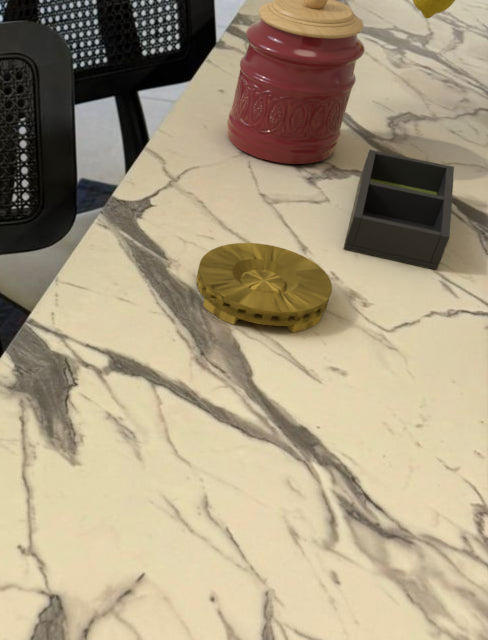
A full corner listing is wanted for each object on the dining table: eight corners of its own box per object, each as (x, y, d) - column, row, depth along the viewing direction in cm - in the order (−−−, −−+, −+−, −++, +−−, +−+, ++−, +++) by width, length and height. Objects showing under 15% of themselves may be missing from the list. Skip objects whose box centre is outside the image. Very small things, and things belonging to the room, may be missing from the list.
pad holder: (442, 197, 113) (454, 166, 110) (436, 270, 100) (449, 237, 98) (359, 179, 115) (369, 149, 112) (343, 249, 102) (353, 216, 100)
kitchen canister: (225, 114, 126) (258, -41, 114) (331, 128, 125) (375, -26, 113) (223, 157, 117) (258, -7, 105) (338, 173, 115) (386, 9, 104)
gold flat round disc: (194, 323, 90) (199, 301, 89) (194, 256, 99) (198, 236, 97) (331, 341, 89) (338, 320, 88) (319, 272, 98) (325, 252, 97)
